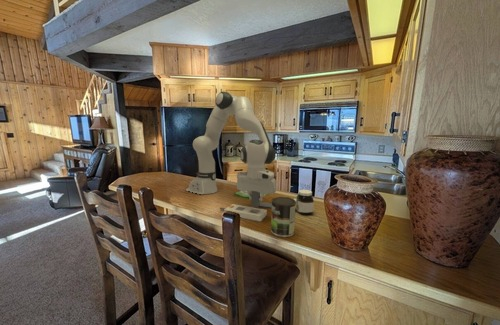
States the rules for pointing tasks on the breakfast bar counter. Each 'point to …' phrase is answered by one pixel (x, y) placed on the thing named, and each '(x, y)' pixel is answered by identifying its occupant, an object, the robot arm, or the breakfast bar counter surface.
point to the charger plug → (255, 198)
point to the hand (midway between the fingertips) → (255, 200)
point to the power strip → (247, 212)
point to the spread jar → (304, 202)
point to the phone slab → (265, 205)
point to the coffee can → (283, 216)
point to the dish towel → (245, 194)
